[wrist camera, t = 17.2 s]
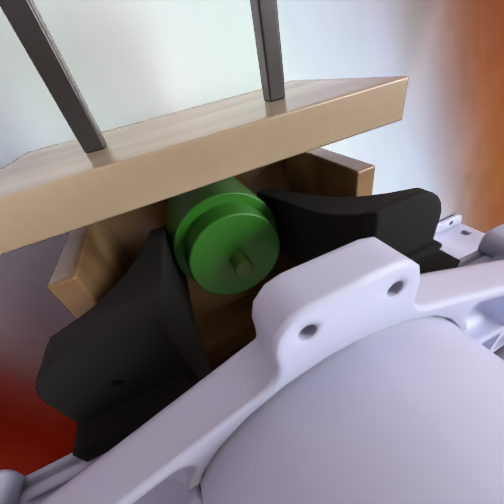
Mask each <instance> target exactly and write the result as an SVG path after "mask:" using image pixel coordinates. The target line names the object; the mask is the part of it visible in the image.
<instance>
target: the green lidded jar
mask: <svg viewBox="0 0 504 504" xmlns="http://www.w3.org/2000/svg"><path fill="white" fill-rule="evenodd" d="M165 221H166V226H167V230H168V233H169V237H170V241H171V245H172V249H173V253H174V257H175V260H176V263H177V265H178V266H179V268H180V270H181V271H182V272H183V273H184V274H185V275H186V276H187V277H188V278H190V279H191V280H193V281H195V282H196V283H197V284H198V285H199V286H200V287H201V288H203V289H204V290H206V291H208V292H211V293H214V294H219V295H232V294H237V293H241V292H244V291H246V290H248V289H250V288H252V287H254V286H256V285H257V284H258V283H260V282H261V281H262V280H263V279H264V278H265V277H266V276H267V275H268V274H269V273H270V272H271V270H272V269H273V267H274V265H275V263H276V261H277V259H278V256H279V251H280V240H279V236H278V233H277V227H276V222H275V218H274V216H273V213H272V212H271V210H270V208H269V207H268V206H267V205H266V204H265V203H264V202H263V201H262V200H261V199H259V198H258V197H257V196H256V195H255V194H254V193H253V192H251V191H250V190H249V189H248V188H247V187H246V186H245V185H243V184H242V183H241V182H240V181H239V180H238V179H236V178H235V177H230V178H227V179H224V180H221V181H218V182H215V183H212V184H209V185H206V186H203V187H201V188H198V189H195V190H192V191H189V192H186V193H183V194H180V195H177V196H174V197H171V198H169V199H168V201H167V205H166V209H165Z"/></svg>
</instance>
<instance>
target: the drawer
mask: <svg viewBox="0 0 504 504" xmlns="http://www.w3.org/2000/svg"><path fill="white" fill-rule="evenodd" d="M250 3H251V11H252V18H253V25H254V32H255V39H256V47H257V54H258V61H259V68H260V75H261V82H262V89H260V90H256V91H252V92H249V93H245V94H241V95H238V96H234V97H230V98H227V99H223V100H219V101H215V102H212V103H208V104H204V105H201V106H197V107H193V108H189V109H186V110H182V111H178V112H175V113H171V114H167V115H164V116H160V117H156V118H152V119H149V120H145V121H141V122H138V123H134V124H130V125H127V126H123V127H119V128H115V129H112V130H108V131H104V132H101V131H100V129H99V127H98V125H97V123H96V121H95V119H94V118H93V116H92V114H91V112H90V110H89V108H88V106H87V104H86V102H85V100H84V98H83V96H82V94H81V92H80V90H79V88H78V87H77V85H76V83H75V81H74V79H73V77H72V75H71V73H70V71H69V69H68V67H67V65H66V63H65V61H64V59H63V57H62V56H61V54H60V52H59V50H58V48H57V46H56V44H55V42H54V40H53V38H52V36H51V34H50V32H49V30H48V28H47V26H46V24H45V23H44V21H43V19H42V17H41V15H40V13H39V11H38V9H37V7H36V5H35V3H34V1H33V0H0V7H1V9H2V10H3V12H4V14H5V16H6V17H7V19H8V21H9V22H10V24H11V26H12V28H13V29H14V31H15V33H16V35H17V36H18V38H19V40H20V41H21V43H22V45H23V47H24V48H25V50H26V52H27V54H28V55H29V57H30V59H31V60H32V62H33V64H34V66H35V67H36V69H37V71H38V73H39V74H40V76H41V78H42V79H43V81H44V83H45V85H46V86H47V88H48V90H49V92H50V93H51V95H52V97H53V98H54V100H55V102H56V104H57V105H58V107H59V109H60V111H61V112H62V114H63V116H64V117H65V119H66V121H67V123H68V124H69V126H70V128H71V130H72V131H73V133H74V135H75V136H76V138H77V139H75V140H71V141H67V142H64V143H60V144H56V145H53V146H49V147H45V148H41V149H38V150H34V151H30V152H28V153H26V154H25V155H23V156H22V157H20V158H18V159H17V160H15V161H14V162H12V163H11V164H9V165H7V166H6V167H4V168H3V169H1V170H0V255H1V254H4V253H7V252H10V251H13V250H16V249H19V248H22V247H25V246H28V245H31V244H34V243H37V242H40V241H43V240H46V239H49V238H52V237H55V236H58V235H61V234H64V233H67V232H70V233H69V236H68V238H67V240H66V243H65V245H64V247H63V250H62V252H61V255H60V257H59V259H58V262H57V264H56V266H55V269H54V271H53V274H52V276H51V278H50V281H49V283H48V285H47V288H48V290H49V291H50V292H51V293H52V294H53V295H54V296H55V297H56V298H57V299H58V300H59V301H60V302H61V303H62V304H63V305H64V306H65V307H66V308H67V309H68V310H69V311H70V312H71V313H72V314H73V315H74V316H75V317H76V318H77V319H78V318H79V317H80V316H82V315H83V314H84V313H85V312H87V311H88V310H89V309H90V308H92V307H93V306H94V305H95V304H96V303H98V302H99V301H100V300H101V299H102V298H103V297H104V296H105V295H106V294H107V293H108V292H109V291H110V290H111V289H112V288H113V287H114V286H115V285H116V284H117V283H118V282H119V281H120V280H121V279H122V277H123V276H124V275H125V274H126V272H127V271H128V270H129V268H130V267H131V266H132V264H133V263H134V261H135V259H136V258H137V256H138V255H139V253H140V251H141V249H142V248H143V246H144V244H145V242H146V240H147V238H148V236H149V234H150V232H151V230H154V229H157V228H159V227H162V226H165V228H166V230H167V226H166V221H165V209H166V205H167V201H168V199H169V198H171V197H174V196H177V195H180V194H183V193H186V192H189V191H192V190H195V189H198V188H201V187H203V186H206V185H209V184H212V183H215V182H218V181H221V180H224V179H227V178H230V177H235V178H236V179H238V180H239V181H240V182H241V183H242V184H243V185H245V186H246V187H247V188H248V189H249V190H250V191H251V192H253V193H254V194H255V195H256V196H257V192H260V191H263V190H266V189H277V190H283V191H289V192H294V193H300V194H306V195H315V196H325V197H356V196H370V195H372V188H373V179H374V170H375V166H374V165H371V164H368V163H365V162H362V161H359V160H356V159H353V158H350V157H347V156H344V155H341V154H337V153H334V152H331V151H328V150H325V149H322V148H319V147H322V146H325V145H328V144H331V143H334V142H337V141H340V140H343V139H346V138H349V137H352V136H355V135H358V134H361V133H364V132H367V131H370V130H373V129H376V128H379V127H382V126H385V125H388V124H391V123H394V122H397V121H400V120H401V119H402V116H403V110H404V104H405V97H406V91H407V84H408V77H407V76H398V77H371V78H345V79H318V80H293V81H289V82H286V83H284V75H283V65H282V54H281V43H280V32H279V22H278V11H277V0H250ZM167 232H168V230H167ZM168 234H169V233H168ZM294 267H296V265H295V264H294V263H293V262H292V261H291V260H290V259H289V258H288V257H287V256H286V255H285V254H284V253H283V252H282V251H281V250H280V251H279V256H278V259H277V261H276V263H275V265H274V267H273V269H272V270H271V272H270V273H269V274H268V275H267V276H266V277H265V278H264V279H263V280H262V281H261V282H260V283H258V284H257V285H256V286H254V287H252V288H250V289H248V290H246V291H244V292H241V293H237V294H232V295H219V294H214V293H211V292H208V291H206V290H204V289H203V288H201V287H200V286H199V285H198V284H197V283H196V282H195V281H193V280H191V279H190V278H188V277H187V276H186V278H187V283H188V288H189V294H190V299H191V304H192V310H193V314H194V319H195V322H196V325H197V329H198V332H199V335H200V338H201V341H202V344H203V348H204V351H205V354H206V357H207V360H208V361H210V360H212V359H214V358H216V357H219V356H221V355H223V354H225V353H227V352H229V351H231V350H233V349H235V348H237V347H239V346H241V345H243V344H246V343H248V342H250V341H252V340H254V339H255V338H256V329H255V325H254V322H253V319H252V307H253V301H254V299H255V298H256V296H257V295H258V293H259V292H260V290H261V289H262V287H263V286H264V285H265V284H266V283H267V282H269V281H270V280H272V279H273V278H275V277H276V276H278V275H279V274H280V273H283V272H285V271H287V270H289V269H292V268H294Z"/></svg>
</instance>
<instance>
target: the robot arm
mask: <svg viewBox="0 0 504 504" xmlns="http://www.w3.org/2000/svg"><path fill="white" fill-rule="evenodd" d="M257 197H258V198H259V199H261V200H262V201H263V202H264V203H265V204H266V205H267V206H268V207H269V208H270V210H271V212H272V213H273V216H274V218H275V222H276V227H277V233H278V236H279V240H280V250H281V251H282V252H283V253H284V254H285V255H286V256H287V257H288V258H289V259H290V260H291V261H292V262H293V263H294V264H295V265H296V267H294V268H292V269H289V270H287V271H285V272H283V273H280V274H279V275H278V276H276V277H275V278H273V279H272V280H270V281H269V282H267V283H266V284H265V285H264V286H263V287H262V289H261V290H260V292H259V293H258V295H257V296H256V298H255V299H254V301H253V307H252V319H253V322H254V325H255V329H256V338H255V339H254V340H253V341H252V342H250V343H249V344H248V345H246V346H245V347H244V348H243V349H241V350H240V351H239V352H237V353H236V354H235V355H233V356H232V357H231V358H229V359H228V360H227V361H226V362H224V363H223V364H222V365H220V366H219V367H218V368H216V369H215V370H214V371H212V372H211V369H210V366H209V363H208V360H207V357H206V354H205V351H204V348H203V344H202V341H201V338H200V335H199V332H198V329H197V325H196V322H195V319H194V314H193V310H192V304H191V299H190V294H189V288H188V283H187V278H186V275H185V274H184V273H183V272H182V271H181V270H180V268H179V266H178V265H177V263H176V260H175V257H174V253H173V249H172V245H171V241H170V237H169V234H168V232H167V230H166V228H165V226H162V227H159V228H157V229H154V230H151V232H150V234H149V236H148V238H147V240H146V242H145V244H144V246H143V248H142V249H141V251H140V253H139V255H138V256H137V258H136V259H135V261H134V263H133V264H132V266H131V267H130V268H129V270H128V271H127V272H126V274H125V275H124V276H123V277H122V279H121V280H120V281H119V282H118V283H117V284H116V285H115V286H114V287H113V288H112V289H111V290H110V291H109V292H108V293H107V294H106V295H105V296H104V297H103V298H102V299H101V300H100V301H99V302H98V303H96V304H95V305H94V306H93V307H92V308H90V309H89V310H88V311H87V312H85V313H84V314H83V315H82V316H80V317H79V318H78V319H76V320H75V321H73V322H72V323H71V324H69V325H68V326H66V327H65V328H63V329H62V330H61V331H59V332H58V333H56V334H55V335H53V336H52V337H50V339H49V342H48V344H47V347H46V351H45V354H44V357H43V360H42V363H41V366H40V369H39V372H38V375H37V379H36V386H35V389H36V391H37V394H38V396H39V397H40V398H41V399H42V400H43V401H44V402H45V403H47V404H48V405H50V406H52V407H53V408H55V409H56V410H58V411H60V412H61V413H63V414H65V415H66V416H68V417H70V418H71V419H73V420H75V421H76V422H78V423H77V430H76V436H75V442H74V448H73V453H71V454H69V455H67V456H65V457H63V458H61V459H59V460H57V461H55V462H53V463H51V464H49V465H47V466H45V467H43V468H41V469H39V470H37V471H35V472H33V473H31V474H29V475H27V476H24V475H22V474H21V473H19V472H17V471H14V470H7V469H5V470H0V504H504V223H503V224H501V225H499V226H497V227H495V228H493V229H491V230H489V231H488V232H486V233H482V232H480V231H478V230H475V229H473V228H470V227H468V226H466V225H463V224H461V223H460V222H461V219H462V215H459V214H456V215H454V216H451V217H449V218H447V219H445V220H443V221H440V222H439V219H440V214H441V201H440V199H439V197H438V196H437V195H436V194H434V193H432V192H429V191H426V190H424V189H421V188H413V189H408V190H402V191H397V192H392V193H386V194H378V195H370V196H356V197H325V196H315V195H306V194H300V193H294V192H289V191H283V190H277V189H266V190H263V191H260V192H257Z"/></svg>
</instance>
